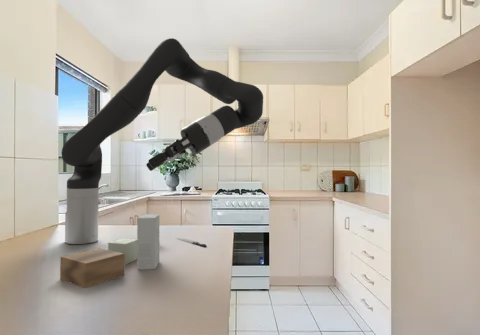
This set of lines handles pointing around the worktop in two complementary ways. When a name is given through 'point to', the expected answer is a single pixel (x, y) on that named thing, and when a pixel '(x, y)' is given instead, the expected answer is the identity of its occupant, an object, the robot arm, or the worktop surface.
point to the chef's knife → (192, 242)
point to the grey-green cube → (125, 248)
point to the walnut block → (91, 267)
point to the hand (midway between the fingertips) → (149, 166)
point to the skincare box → (147, 241)
